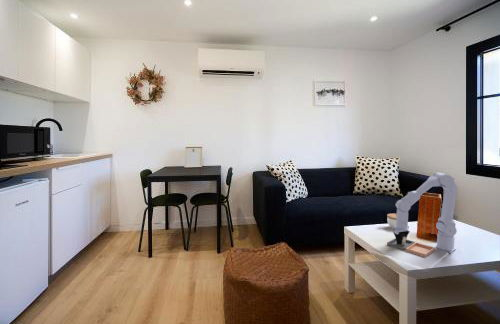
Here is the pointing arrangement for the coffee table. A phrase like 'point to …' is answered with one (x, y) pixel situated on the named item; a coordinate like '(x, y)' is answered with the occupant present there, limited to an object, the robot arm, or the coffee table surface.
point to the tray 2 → (420, 249)
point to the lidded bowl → (392, 220)
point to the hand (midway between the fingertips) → (401, 243)
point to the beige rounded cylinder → (403, 241)
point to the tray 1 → (394, 244)
